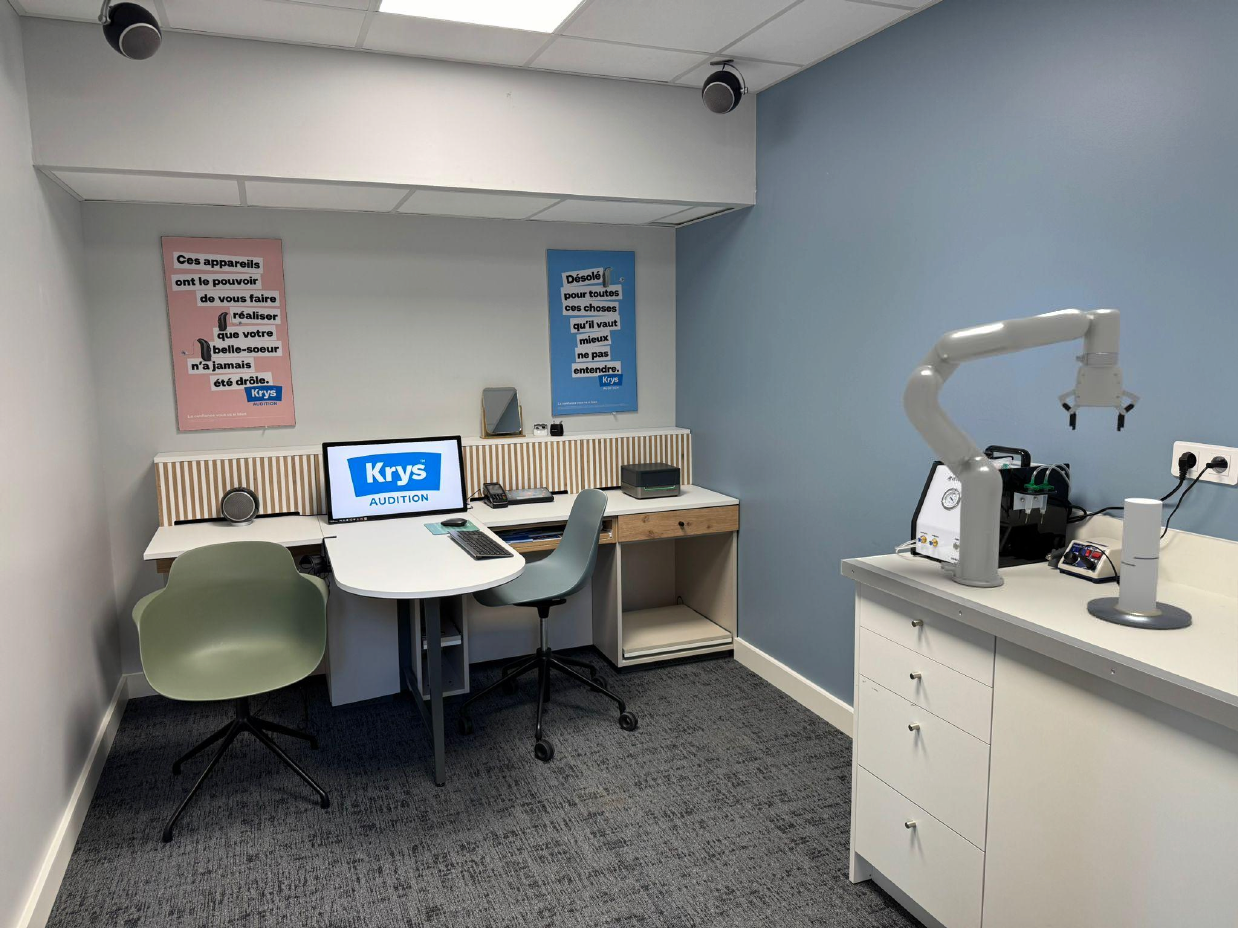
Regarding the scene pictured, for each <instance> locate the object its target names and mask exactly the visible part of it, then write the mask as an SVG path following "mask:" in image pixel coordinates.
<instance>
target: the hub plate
mask: <svg viewBox="0 0 1238 928" xmlns="http://www.w3.org/2000/svg"><path fill="white" fill-rule="evenodd" d="M1086 604H1087V605H1086V610H1088V611H1087V612H1088V614H1090V615H1091V614H1092V615H1091V616H1093V617H1095V616H1096V617H1095V618H1096V619H1099V618H1100V619H1099V620H1102V619H1103V620H1102V621H1104V620H1105V622H1108V621H1109V622H1108V623H1111V624H1116V625H1119V624H1120V625H1119V626H1123V627H1124V626H1125V627H1130V628H1135V629H1145V630H1159V631H1161V630H1162V631H1164V630H1165V631H1167V630H1170V631H1171V630H1180V629H1184V628H1188V627H1190V625H1191V624H1192V623H1193V622H1192V620H1193V619H1192V618H1193V617H1192V614H1191V613H1189V612H1188V611H1187V610H1185V609H1183V608H1181V607H1178V606H1175V605H1172V604H1168V603H1165V602H1162V601H1161V602H1160V601H1157V600H1156V611H1155V613H1153V614H1136V613H1130V612H1126V611H1123V610H1121V609H1119V608H1118V605H1119V596H1107V597H1106V596H1105V597H1098V598H1094V599H1091V600H1089V601H1088V602H1087V603H1086Z"/></svg>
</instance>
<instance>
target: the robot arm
mask: <svg viewBox="0 0 1238 928" xmlns="http://www.w3.org/2000/svg"><path fill="white" fill-rule="evenodd" d="M1121 320H1122V315H1121V312H1120V311H1119V310H1118V309H1114V308H1103V309H1100V308H1099V309H1098V308H1097V309H1093V310H1092V309H1091V310H1089V311H1083V310H1081V309H1078V308H1066V309H1063V310H1059V311H1058V310H1057V311H1054V312H1053V311H1052V312H1049V313H1045V314H1044V313H1043V314H1039V315H1033V316H1028V317H1023V318H1012V319H1003V320H998V321H994V322H993V321H992V322H989V323H984V324H979V325H975V326H970V327H964V328H960V329H954V330H950V331H948V332H946V333H943V334H942V335H941V336H940V337H939V339H937V341H936V343H935V344H934V345H933V347H932V348H931V349H930V350H929V352H928V353H927V354H926V356H925V357H924V358H923V359H922V361H921V362H920V363H919V364H918V365H917V367H916V368H915V369H914V370H913V372H912V373H911V374H910V376H909V379H908V381H907V383H906V386H905V389H904V394H903V402H902V403H903V408H904V413H905V415H906V418H907V419H908V421H909V422H910V424H911V425H912V427H913V428H914V429H915V430H916V431H917V432H918V434H919V436H920V437H921V438H922V440H923V441H924V442H926V444H927V445H928V446H929V447H930V449H931V450H932V452H933V453H934V454H935V456H936V457H937V459H938V460H939V461H940V462H942V464H944V465H945V466H946V468H947V469H948V470H949V471H950V473H952V474H953V476H954V477H955V478H956V479H957V481H958V482H959V483H960V486H961V487H960V489H961V492H960V507H959V508H960V509H959V510H960V511H959V512H960V513H959V541H958V542H959V544H958V560H957V562H956V561H954V562H953V563H952V562H945V561H944V562H943V561H941V564H940V570H944V571H946V572H953V573H952V574H951V579H952V581H954V582H955V581H956V583H958V584H962V585H964V584H965V586H971V587H978V588H979V587H981V588H988V587H989V588H992V587H993V588H994V587H998V586H999V587H1000V586H1002V585H1003V584H1005V578H1004V577H1003V576H1002V575H999V574H998V573H999V571H998V570H999V554H1000V553H999V548H1000V529H1001V528H1000V524H1001V523H1000V521H1001V505H1002V504H1001V503H1002V495H1003V478H1002V475H1001V472H1000V470H999V469H998V468H997V467H996V466H995V464H994V463H993V462H992V461H991V460H990V459H989V458H988V456H987V455H986V454H985V453H984V452H983V451H982V450H981V448H980V447H979V446H978V445H977V444H976V443H975V442H974V441H973V439H972V438H971V437H970V436H969V434H968V433H967V432H966V431H964V430H963V429H962V428H959V426H958V425H957V424H956V423H955V422H954V421H953V420H952V418H951V417H950V416H949V415H948V413H947V412H946V411H945V410H944V409H943V407H942V406H941V404H940V402H939V395H940V393H941V391H942V388H943V386H944V384H946V382H947V381H948V380H949V378H951V377H952V375H954V373H955V371H956V370H957V369H958V368H959V366H960V365H961V364H962V363H967V362H971V361H977V360H982V359H987V358H993V357H998V356H1003V355H1008V354H1014V353H1019V352H1022V351H1025V350H1029V349H1033V348H1038V347H1044V346H1050V345H1052V344H1053V345H1055V344H1058V343H1059V344H1060V343H1063V342H1069V341H1075V340H1076V341H1077V340H1078V339H1079V340H1080V339H1083V347H1082V348H1083V349H1082V354H1081V355H1078V356H1077V355H1076V356H1075V362H1077V363H1078V362H1079V363H1081V364H1082V366H1078V369H1077V372H1076V377H1075V385H1074V389H1072V390H1070V391H1067V392H1064V393H1062V394H1059V396H1057V399H1058V401H1059V403H1060V405H1061V406H1062V408H1063V409H1064V410H1065V411H1066V412H1068V414H1069V424H1068V427H1070V428H1071V430H1072V431H1075V430H1076V429H1077V413H1076V412H1077V410H1078V409H1080V407H1081V408H1082V407H1083V408H1115V409H1116V410H1117V411H1118V414H1117V426H1116V431H1117V432H1122V430H1121V429H1125V420H1126V419H1125V418H1126V417H1125V416H1126V415H1127V414H1128V413H1130V411H1131V410H1133V409H1134V408H1135V406H1136V405H1137V403H1138V402H1139V400H1140V396H1139V395H1136V394H1134V393H1132V392H1129V391H1127V390H1126V389H1124V382H1123V381H1124V380H1123V378H1124V377H1123V376H1124V375H1123V369H1122V366H1121V365H1119V355H1120V354H1119V350H1120V335H1121ZM1072 396H1073V397H1074V398H1073V403H1074V404H1073V405H1072V406H1071V405H1069V403H1068V402H1067V400H1066V399H1068V398H1070V397H1072ZM1123 396H1124V397H1126V398H1128V399H1130V400H1131V401H1130V403H1129V404H1127V405H1126V406H1125V407H1123V405H1122V404H1123V403H1122V402H1123Z"/></svg>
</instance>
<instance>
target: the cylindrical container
mask: <svg viewBox="0 0 1238 928" xmlns="http://www.w3.org/2000/svg"><path fill="white" fill-rule="evenodd" d="M1163 503H1164V502H1163V501H1162V500H1160V499H1154V498H1143V497H1142V498H1140V497H1137V498H1136V497H1131V498H1125V499H1124V504H1123V519H1122V520H1123V521H1122V540H1121V554H1120V555H1121V556H1120V569H1119V570H1120V574H1119V588H1118V589H1119V591H1118V593H1119V594H1118V597H1119V605H1118V608H1119V609H1121V610H1123V611H1126V612H1130V613H1136V614H1153V613H1155V611H1156V601H1157V596H1158V595H1157V594H1158V593H1157V592H1158V578H1159V575H1158V574H1159V560H1160V559H1159V558H1160V548H1161V547H1160V546H1161V532H1162V531H1161V530H1162V516H1163V515H1162V514H1163Z"/></svg>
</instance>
